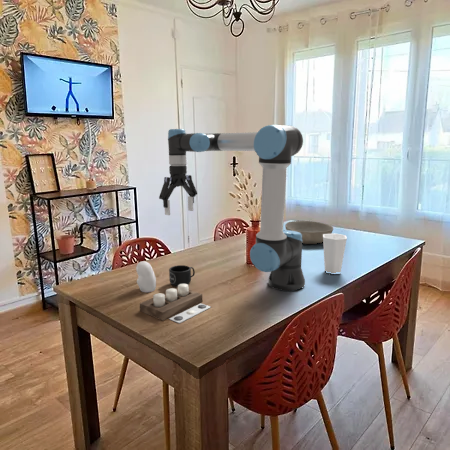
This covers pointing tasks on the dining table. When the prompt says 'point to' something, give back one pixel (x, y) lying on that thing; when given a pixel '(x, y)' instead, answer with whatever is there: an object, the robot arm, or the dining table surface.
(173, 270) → the mug
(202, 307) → the card
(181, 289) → the button right
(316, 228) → the bowl
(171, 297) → the button middle
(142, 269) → the figurine
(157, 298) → the button left
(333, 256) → the cup
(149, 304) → the board
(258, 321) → the dining table surface
